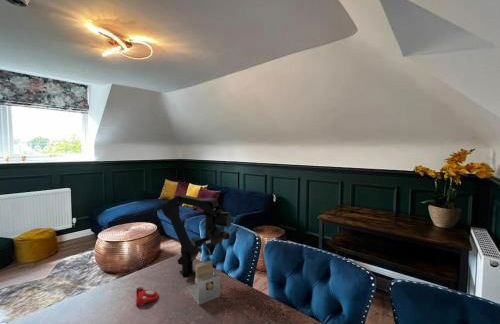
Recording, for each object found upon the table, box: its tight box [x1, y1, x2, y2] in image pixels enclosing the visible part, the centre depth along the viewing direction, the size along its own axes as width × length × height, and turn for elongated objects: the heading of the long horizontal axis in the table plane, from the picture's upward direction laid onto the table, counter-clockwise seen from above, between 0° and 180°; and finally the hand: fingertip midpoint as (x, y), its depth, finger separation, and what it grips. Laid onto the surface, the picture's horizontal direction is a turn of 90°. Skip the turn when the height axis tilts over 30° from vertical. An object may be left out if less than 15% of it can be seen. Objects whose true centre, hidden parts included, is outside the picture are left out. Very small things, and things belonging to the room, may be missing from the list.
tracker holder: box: [135, 286, 159, 307], centre depth 100 cm, size 12×4×10 cm
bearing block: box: [186, 271, 221, 305], centre depth 105 cm, size 15×10×10 cm
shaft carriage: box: [195, 260, 214, 291], centre depth 101 cm, size 8×7×13 cm
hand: (211, 255), depth 116 cm, fingers closed
